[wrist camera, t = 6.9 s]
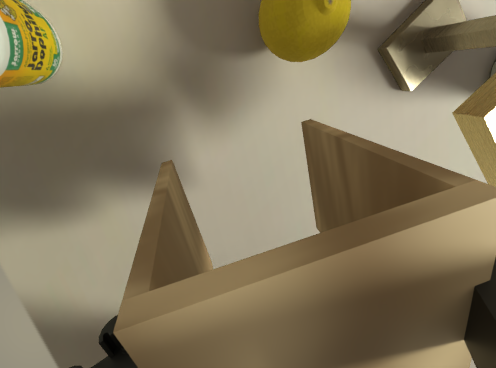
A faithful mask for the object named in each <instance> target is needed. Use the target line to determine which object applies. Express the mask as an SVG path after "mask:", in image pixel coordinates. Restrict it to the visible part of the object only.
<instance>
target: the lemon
mask: <svg viewBox="0 0 496 368" xmlns="http://www.w3.org/2000/svg"><path fill="white" fill-rule="evenodd" d="M350 9H351V0H262V1H261V4H260V10H259V28H260V33H261V37H262V39H263V41H264V43H265V45H266V46H267V47H268V48H269V50H270V51H271V52H272V53H273V54H275V55H276V56H278V57H279V58H281V59H284V60H287V61H290V62H303V61H307V60H310V59H314V58H316V57H318V56H319V55H321V54H323V53H324V52H326V51H327V50H328V49H329V48H330V47H332V46H333V45H334V44H335V43H336V42H337V40H338V39H339V37H340V36H341V34H342V33H343V31H344V30H345V27H346V25H347V22H348V20H349V14H350Z"/></svg>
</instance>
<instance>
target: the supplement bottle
mask: <svg viewBox="0 0 496 368" xmlns="http://www.w3.org/2000/svg"><path fill="white" fill-rule="evenodd" d="M61 61H62V47H61V42H60V39H59V37H58V35H57V33H56V31H55V29H54V27H53V26H52V25H51V23H50V22H49V21H48V20H47V19H46V18H45V17H44V16H43V15H42V14H41V13H40V12H39V11H37V10H36V9H35V8H34V7H32V6H31V5H29V4H28V3H26V2H24V1H22V0H0V87H11V86H24V85H34V84H40V83H43V82H46V81H47V80H49V79H50V78H51V77H53V76H54V75H55V73H56V72H57V71H58V69H59V67H60V64H61Z"/></svg>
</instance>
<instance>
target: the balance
mask: <svg viewBox="0 0 496 368" xmlns="http://www.w3.org/2000/svg"><path fill="white" fill-rule="evenodd" d="M495 46H496V15H495V16H489V17H484V18H479V19H474V20H469V21H467V20H466V18H465V15H464V13H463V10H462V8H461V5H460V2H459V0H425V1H424V2H423V3H422V5H421V6H420V7H419V8H418V9H417V10H416V11H415V12H414V13H413V14H412V15H411V16H410V17H409V18H408V19H407V20H406V21H405V22H404V23H403V24H402V25H401V26H400V27H399V28H398V29H397V30H396V31H395V32H394V33H393V34H392V35H391V36H390V37H389V38H388V39H387V40H386V41H385V42H384V43H383V44H382V45H381V46H380V47H379V48H378V51H379V53H380V55H381V56H382V58H383V60H384V61H385V63H386V65H387V66H388V68H389V70H390V72H391V73H392V75H393V77H394V78H395V80H396V82H397V83H398V85H399V87H400V89H401V90H402V91H412V90H413V89H414V88H415V87H417V86H418V85H419V84H420V83H421V82H422V81H423V80H424V79H425V78H426V77H427V76H428V75H429V74H430V73H431V72H432V71H433V70H434V69H435V68H436V67H437V66H438V65H439V64H440V63H441V62H442V61H443V60H444V59H445V58H446V57H447V56H449V55H450V54H451V53H452V52H453V51H454V50H464V49H474V48H485V47H495ZM453 115H454V117H455V119H456V121H457V123H458V125H459V127H460V129H461V131H462V133H463V135H464V137H465V139H466V141H467V143H468V145H469V147H470V149H471V151H472V153H473V155H474V157H475V159H476V161H477V163H478V165H479V167H480V169H481V171H482V173H483V175H484V177H485V179H486V181H487V183H488V184H489V185H491V186H494V187H496V73H495V74H494V75H493V76H491V77H490V78H489V79H488V80H487V81H486V82H485V83H484V84H483V85H482V86H481V87H480V88H479V89H477V90H476V91H475V92H474V93H473V94H472V95H471V96H470V97H469V98H468V99H467V100H466V101H465V102H464V103H462V104H461V105H460V106H459V107H458V108H457V109H456V110H455V111H454V112H453Z"/></svg>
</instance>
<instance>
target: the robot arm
mask: <svg viewBox="0 0 496 368" xmlns="http://www.w3.org/2000/svg"><path fill="white" fill-rule="evenodd" d="M117 317H118V315H117V316H115V317H114V318H113V319H111V320H110V321H109V322H108V323H107V324H106V326H105V327H104V328H103V329H102V331H101V334H100V336H99V344H100V345H101V347H102V348H103V349H104V351H105V352H106V353H107V354H108V356H107V357H106V358H105V359H103V360H102V361H100V362H99V363H97V364H96V365H94V366H93V367H91V368H138V367H137V365H136V364H135V363H134V361H133V360H132V358H131V357H130V356H129V354H128V353H127V351H126V350H125V349H124V347H123V346H122V344H121V343H120V342H119V340H118V339H117V338H116V336H115V335H114V333H113V331H114V328H115V324H116V321H117ZM464 341H465V344H466V346H467V348H468V350H469V352H470V354H471V357H472V359H473V361H474V363H475V365H476V367H477V368H496V257H495V262H494V266H493V270H492V274H491V278H490V280H489V281H487V282H484V283H481V284H479V285H476V286H475V287H474V292H473V297H472V302H471V307H470V312H469V317H468V321H467V326H466V331H465V336H464ZM70 368H83V367H82V366H72V367H70Z"/></svg>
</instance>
